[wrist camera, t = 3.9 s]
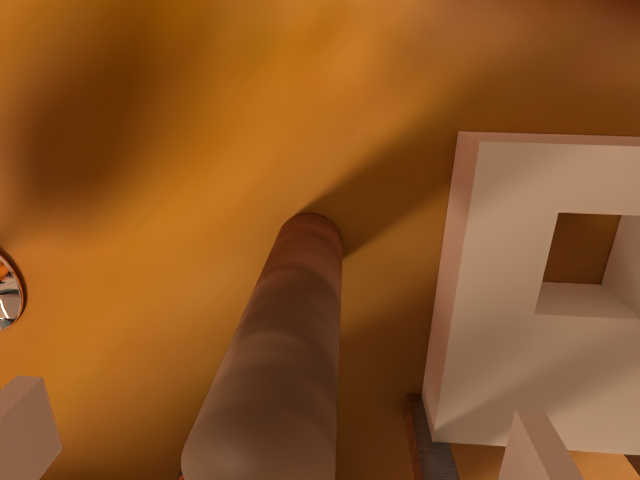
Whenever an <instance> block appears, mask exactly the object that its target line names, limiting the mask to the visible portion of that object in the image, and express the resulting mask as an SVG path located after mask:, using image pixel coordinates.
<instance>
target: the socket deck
mask: <svg viewBox="0 0 640 480" xmlns="http://www.w3.org/2000/svg"><path fill="white" fill-rule="evenodd" d="M558 213H584V214H609V215H621V219H620V222H619V225H618V229H617V232H616V235H615V239H614V242H613V246H612V249H611V252H610V256H609V259H608V262H607V266H606V269H605V272H604V276H603V279H602V283H601V285H599V284H578V283H556V282H542V279H543V275H544V271H545V267H546V263H547V259H548V254H549V250H550V246H551V242H552V238H553V234H554V229H555V225H556V221H557V217H558ZM422 399H423V404H424V408H425V412H426V416H427V421H428V425H429V429H430V433H431V438H432V442H447V443H462V444H477V445H492V446H506V445H507V441H508V437H509V433H510V429H511V425H512V421H513V417H514V413H515V409H518V410H533V411H545V412H546V414H547V416H548V417H549V419H550V421H551V423H552V424H553V426H554V428H555V430H556V431H557V433H558V435H559V436H560V438H561V440H562V442H563V443H564V445H565V447H566V449H567V450H568V451H583V452H598V453H613V454H628V455H640V137H631V136H598V135H565V134H532V133H499V132H466V131H458V136H457V144H456V151H455V158H454V165H453V172H452V180H451V187H450V194H449V201H448V208H447V216H446V223H445V230H444V237H443V244H442V252H441V259H440V266H439V273H438V280H437V288H436V295H435V302H434V309H433V316H432V324H431V331H430V338H429V345H428V352H427V360H426V367H425V374H424V381H423V389H422Z"/></svg>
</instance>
